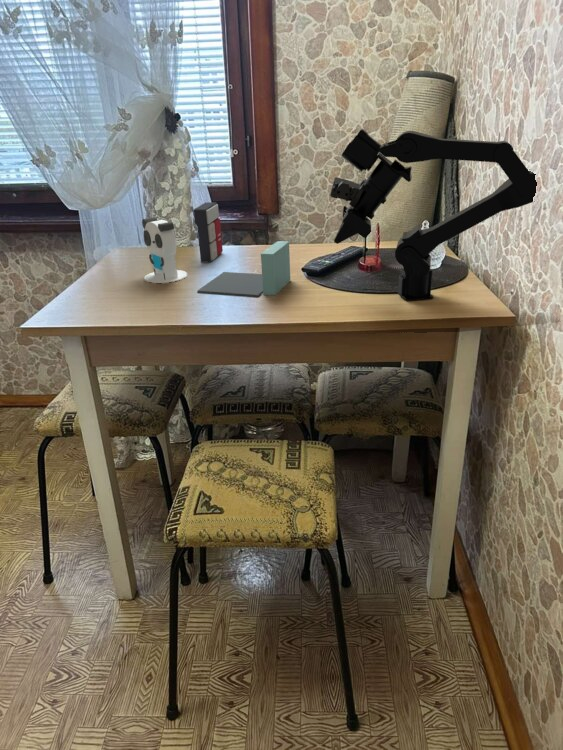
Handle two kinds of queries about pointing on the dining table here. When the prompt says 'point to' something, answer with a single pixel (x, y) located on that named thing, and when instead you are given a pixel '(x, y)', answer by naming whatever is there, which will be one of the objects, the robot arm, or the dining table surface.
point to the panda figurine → (161, 251)
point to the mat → (235, 284)
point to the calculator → (208, 231)
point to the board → (275, 267)
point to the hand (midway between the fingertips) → (335, 242)
